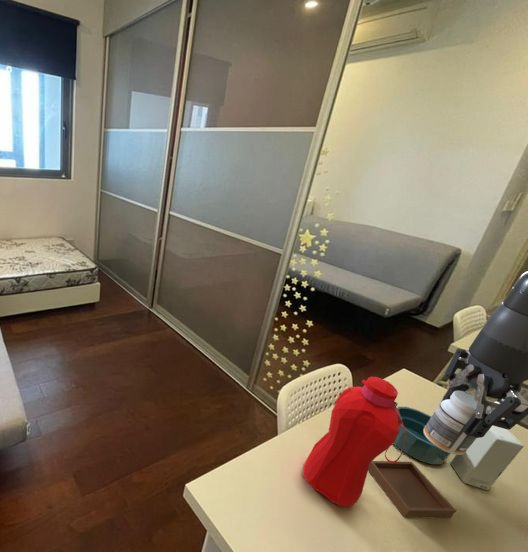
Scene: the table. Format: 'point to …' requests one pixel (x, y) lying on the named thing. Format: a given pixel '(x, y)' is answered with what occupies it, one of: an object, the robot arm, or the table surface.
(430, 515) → the tray
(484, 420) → the robot arm
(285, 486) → the table surface
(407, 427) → the bowl
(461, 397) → the pill bottle
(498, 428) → the box
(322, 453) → the water bottle
